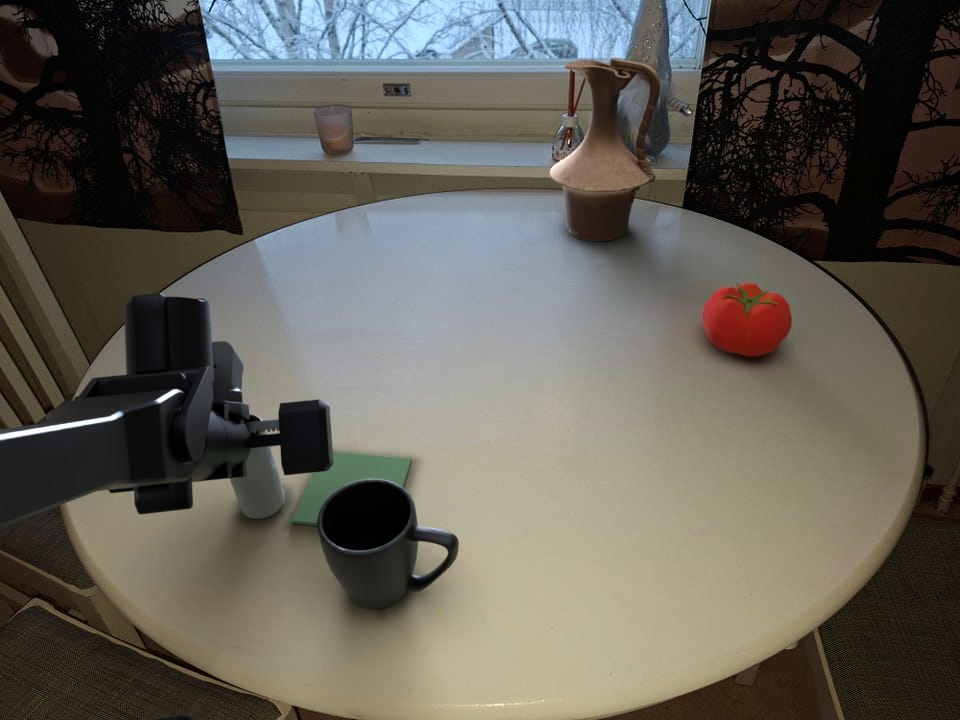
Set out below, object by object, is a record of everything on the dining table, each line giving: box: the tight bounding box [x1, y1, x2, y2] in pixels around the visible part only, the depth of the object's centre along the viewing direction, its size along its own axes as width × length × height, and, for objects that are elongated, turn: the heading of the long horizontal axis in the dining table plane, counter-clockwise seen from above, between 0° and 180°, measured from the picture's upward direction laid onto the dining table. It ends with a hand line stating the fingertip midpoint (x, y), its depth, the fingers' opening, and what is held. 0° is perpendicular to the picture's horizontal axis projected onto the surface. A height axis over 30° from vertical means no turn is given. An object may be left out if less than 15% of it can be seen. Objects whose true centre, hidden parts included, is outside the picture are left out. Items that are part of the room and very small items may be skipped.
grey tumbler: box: [229, 413, 286, 520], centre depth 67 cm, size 4×4×10 cm
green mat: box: [291, 451, 413, 527], centre depth 71 cm, size 10×10×1 cm
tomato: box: [701, 282, 793, 357], centre depth 88 cm, size 11×11×8 cm
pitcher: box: [549, 57, 661, 242], centre depth 111 cm, size 18×17×28 cm
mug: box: [316, 479, 460, 611], centre depth 59 cm, size 8×12×10 cm
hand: (247, 447), depth 66 cm, fingers open, 9 cm apart
